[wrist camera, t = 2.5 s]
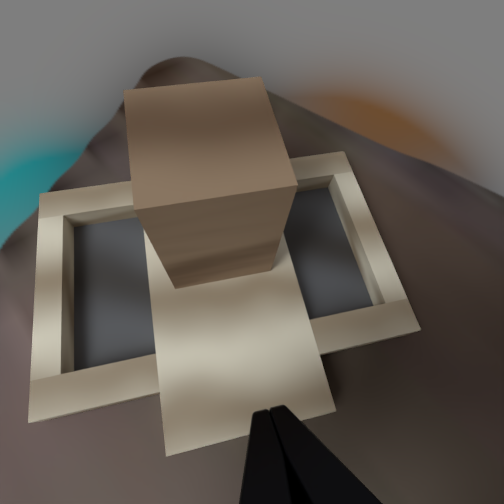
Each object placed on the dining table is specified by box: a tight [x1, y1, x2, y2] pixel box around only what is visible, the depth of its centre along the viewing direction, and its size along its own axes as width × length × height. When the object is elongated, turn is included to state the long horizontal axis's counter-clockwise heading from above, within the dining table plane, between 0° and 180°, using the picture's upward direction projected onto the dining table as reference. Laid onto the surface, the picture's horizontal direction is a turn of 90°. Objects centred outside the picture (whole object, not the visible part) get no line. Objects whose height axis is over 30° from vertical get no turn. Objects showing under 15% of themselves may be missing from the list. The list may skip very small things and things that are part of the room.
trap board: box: [28, 151, 421, 456], centre depth 21 cm, size 24×22×4 cm
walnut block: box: [123, 77, 298, 289], centre depth 17 cm, size 6×6×9 cm
